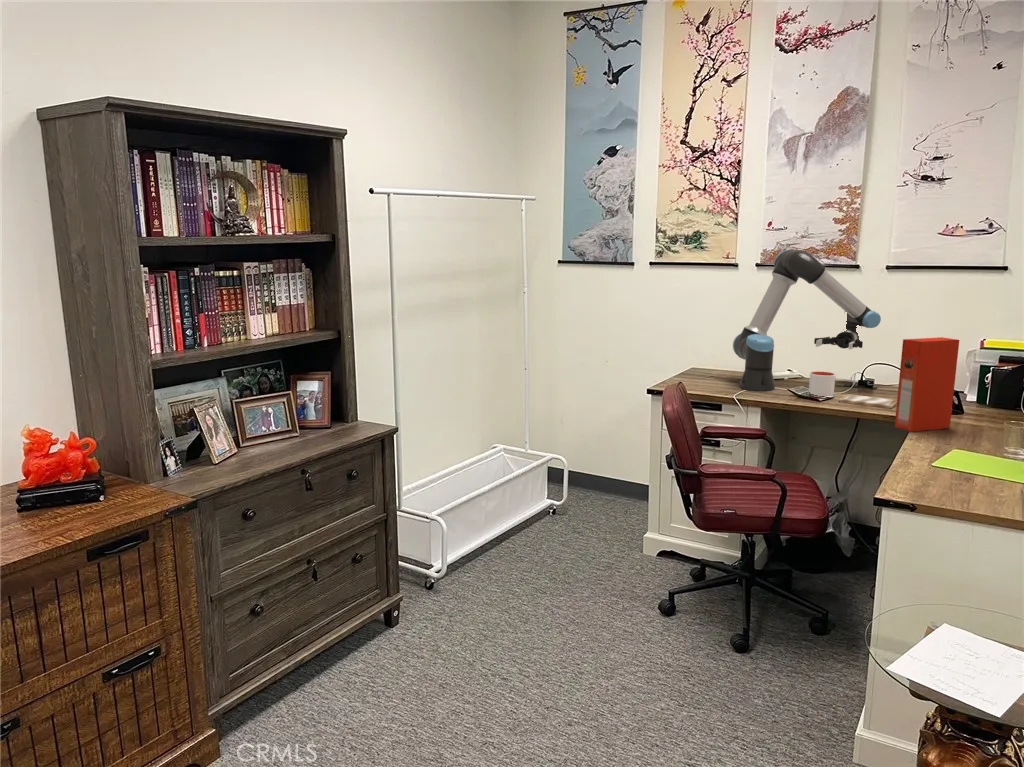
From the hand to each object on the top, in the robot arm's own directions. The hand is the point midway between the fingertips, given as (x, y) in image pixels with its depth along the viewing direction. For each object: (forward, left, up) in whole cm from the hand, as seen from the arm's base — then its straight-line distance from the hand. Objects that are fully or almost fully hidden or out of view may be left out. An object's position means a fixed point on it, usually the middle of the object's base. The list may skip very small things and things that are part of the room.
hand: (833, 345), depth 329 cm
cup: (0, -12, -21) cm, 24 cm away
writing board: (+19, -12, -21) cm, 30 cm away
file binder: (+44, -44, -21) cm, 66 cm away
